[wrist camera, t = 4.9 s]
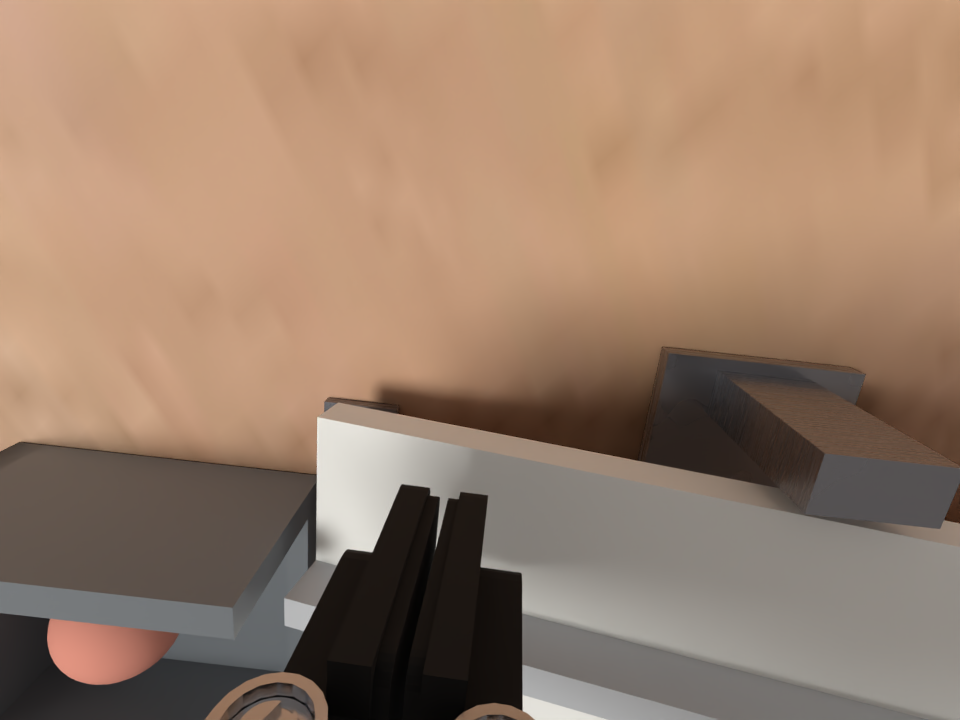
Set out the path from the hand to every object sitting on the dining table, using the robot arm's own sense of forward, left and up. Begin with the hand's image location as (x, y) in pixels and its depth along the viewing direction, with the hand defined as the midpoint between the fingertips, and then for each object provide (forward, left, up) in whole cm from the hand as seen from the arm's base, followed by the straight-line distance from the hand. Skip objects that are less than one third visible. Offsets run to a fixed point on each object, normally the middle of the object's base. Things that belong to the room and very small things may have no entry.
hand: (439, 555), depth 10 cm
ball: (+9, +6, -3) cm, 11 cm away
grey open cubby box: (+9, +6, -5) cm, 11 cm away
